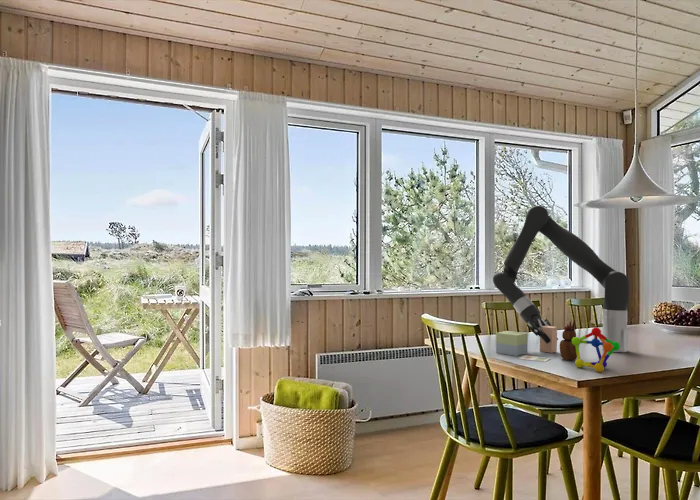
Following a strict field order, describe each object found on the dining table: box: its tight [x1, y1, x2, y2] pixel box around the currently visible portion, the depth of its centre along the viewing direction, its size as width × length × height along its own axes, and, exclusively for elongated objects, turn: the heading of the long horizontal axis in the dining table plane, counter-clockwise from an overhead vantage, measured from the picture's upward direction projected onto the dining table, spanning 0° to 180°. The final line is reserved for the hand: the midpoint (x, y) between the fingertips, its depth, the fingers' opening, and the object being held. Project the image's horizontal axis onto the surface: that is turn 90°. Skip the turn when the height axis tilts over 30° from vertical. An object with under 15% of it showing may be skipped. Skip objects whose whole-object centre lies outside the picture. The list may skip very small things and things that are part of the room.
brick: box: [539, 325, 558, 354], centre depth 228 cm, size 5×5×10 cm
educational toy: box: [572, 326, 620, 373], centre depth 196 cm, size 16×13×15 cm
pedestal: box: [495, 330, 529, 357], centre depth 224 cm, size 9×9×8 cm
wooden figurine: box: [559, 319, 580, 362], centre depth 212 cm, size 7×6×15 cm
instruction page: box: [518, 354, 552, 363], centre depth 213 cm, size 10×8×1 cm
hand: (552, 341), depth 227 cm, fingers closed on brick, 5 cm apart
